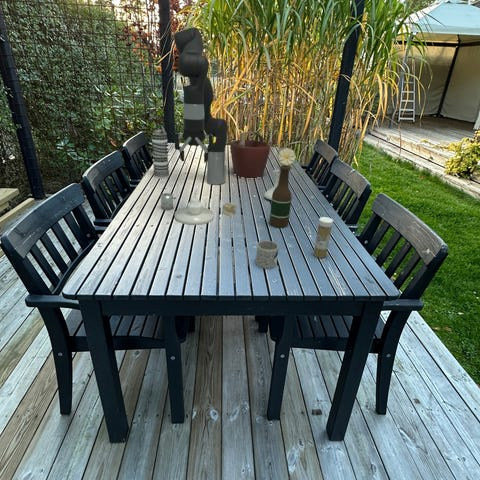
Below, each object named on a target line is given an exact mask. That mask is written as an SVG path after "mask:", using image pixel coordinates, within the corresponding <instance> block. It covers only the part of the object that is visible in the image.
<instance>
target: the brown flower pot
mask: <svg viewBox="0 0 480 480" xmlns="http://www.w3.org/2000/svg"><path fill="white" fill-rule="evenodd" d="M250 134H254V135H255V136H256V137H258V140H255V139H253V140H252V139H249V140H248V139H245V138H246V136H248V135H250ZM238 138H239V139H236V140H234V141H231V142H230V144H229V145H230V154H231V155H230V156H231V163H232V168H233V169H232V170H233V174H236V175H237V176H239V177H244V178H257V177H262V176H263V175H264V174H265V173H264V172H265V169H266V167H267V166H266V165H267V163H268V159H269V155H270V152H271V146H270V144H269V142H265V139H264V136H263V135H261V134H260V133H259V132H257V131H251V130H250V131H245V132H242V133H240V134H239V135H238ZM237 176H236V177H237ZM239 177H238V178H239ZM262 178H263V177H262Z"/></svg>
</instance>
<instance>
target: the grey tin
mask: <svg viewBox="0 0 480 480" xmlns="http://www.w3.org/2000/svg"><path fill="white" fill-rule="evenodd" d="M160 205H161V207H160V208H161V210H163V211H172V210H173V209H174V195H173V194H172V193H168V192H166V193H162V194H160Z"/></svg>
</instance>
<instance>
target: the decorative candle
mask: <svg viewBox="0 0 480 480" xmlns="http://www.w3.org/2000/svg"><path fill="white" fill-rule="evenodd" d="M167 136H168V135H167V132H166V130H164V129H154V130H153V131H152V132H151V137H152V138H151V140H150V143H151V145H150V146H151V150H152V151H151V153H152V156H153V163H152V166H153V177H154V178H155V179H160V180H164V179H168V178H170V167H169V166H170V165H169V160H168V159H169V154H168V153H169V148H168V147H169V146H170V145H169V141H168V137H167Z"/></svg>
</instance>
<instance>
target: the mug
mask: <svg viewBox="0 0 480 480" xmlns="http://www.w3.org/2000/svg"><path fill="white" fill-rule="evenodd" d="M279 246H280V245H279V244H278V243H277V242H274V241H272V240H266V239H264V240H261V241H258V242H257V247H256V258H255V264H256V266H257V268H261V269H264V270H271V269H274V268H276V266H277V264H278V263H277V262H278V255H279V254H278V253H279V248H280V247H279Z"/></svg>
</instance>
